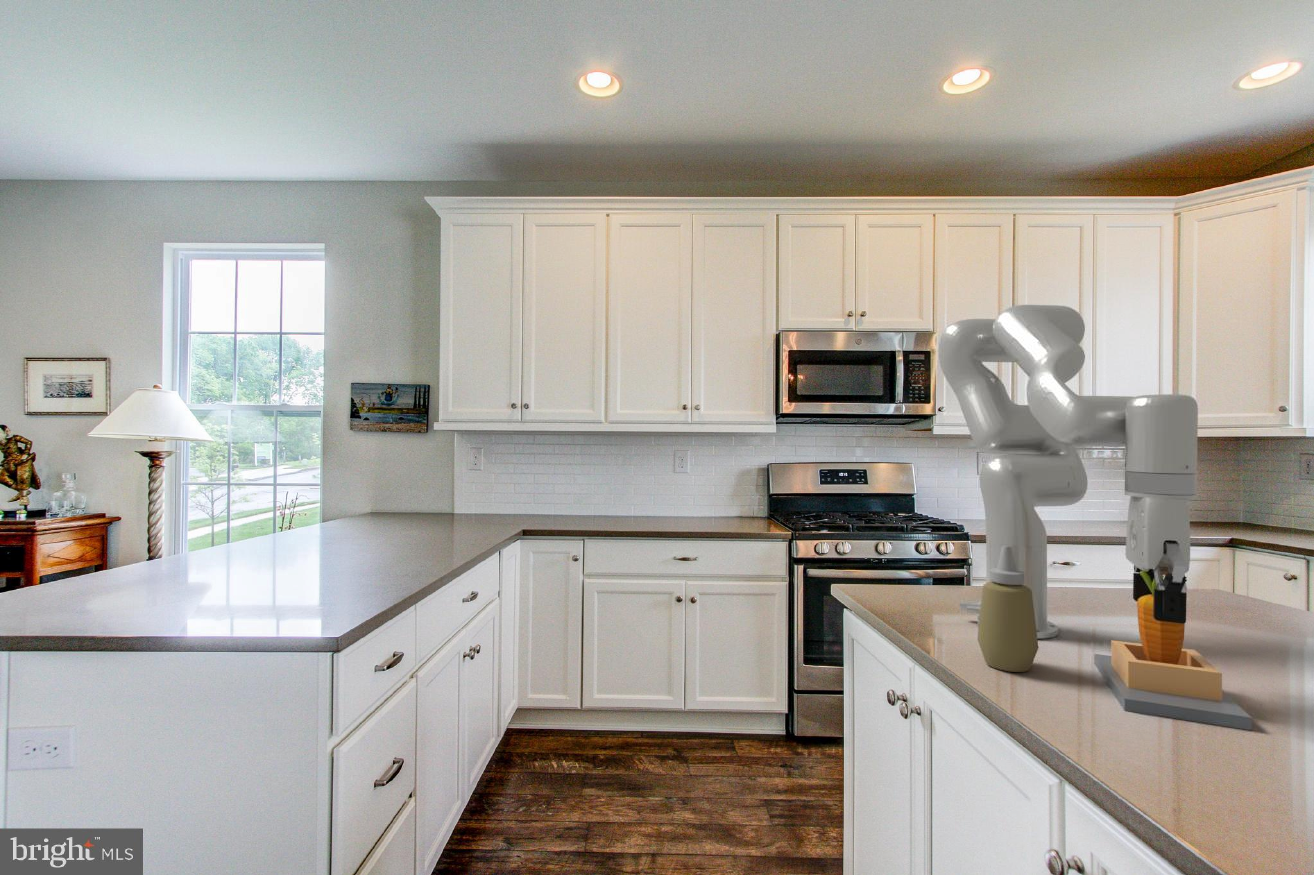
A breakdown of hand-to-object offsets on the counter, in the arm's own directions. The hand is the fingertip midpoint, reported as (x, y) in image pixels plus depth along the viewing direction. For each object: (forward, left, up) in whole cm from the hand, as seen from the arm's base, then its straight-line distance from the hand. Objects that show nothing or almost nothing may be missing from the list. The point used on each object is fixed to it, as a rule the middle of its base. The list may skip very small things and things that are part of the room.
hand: (1157, 611), depth 82 cm
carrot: (0, 0, -10) cm, 10 cm away
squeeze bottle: (-18, +1, -11) cm, 21 cm away
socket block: (0, -1, -11) cm, 11 cm away
